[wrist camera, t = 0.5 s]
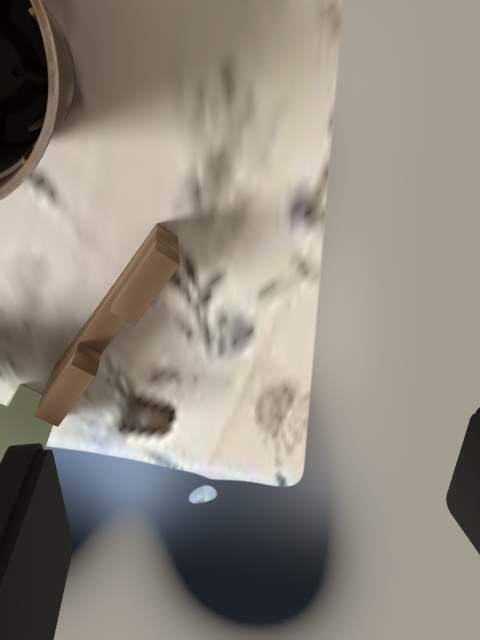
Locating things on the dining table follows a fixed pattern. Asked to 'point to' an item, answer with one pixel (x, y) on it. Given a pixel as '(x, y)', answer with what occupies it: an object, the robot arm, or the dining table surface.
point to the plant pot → (30, 87)
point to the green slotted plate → (22, 421)
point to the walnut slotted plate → (109, 322)
